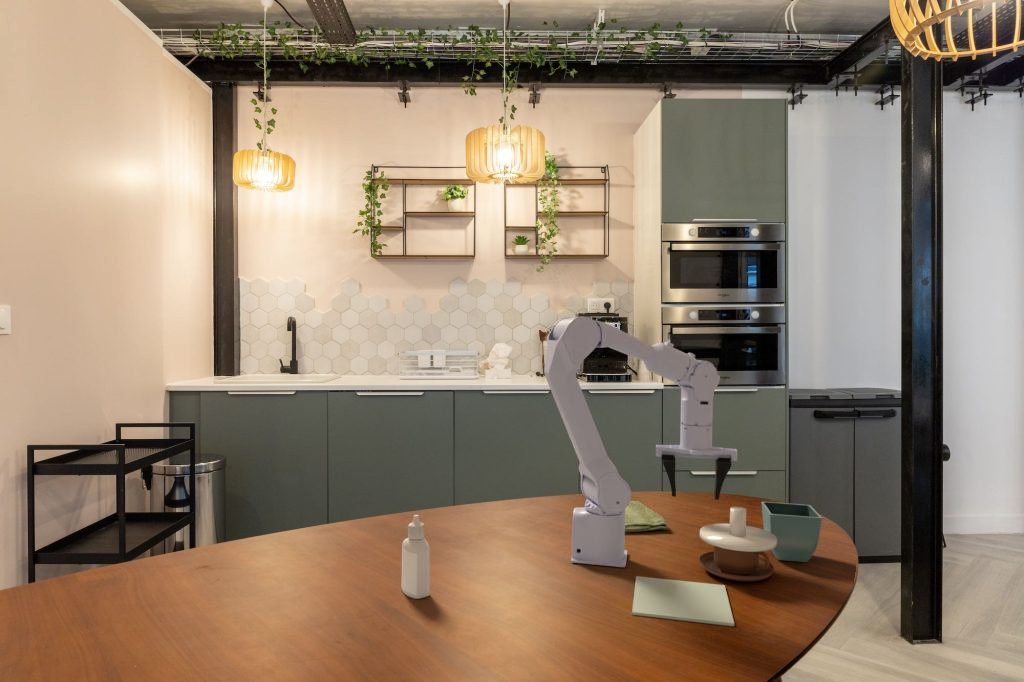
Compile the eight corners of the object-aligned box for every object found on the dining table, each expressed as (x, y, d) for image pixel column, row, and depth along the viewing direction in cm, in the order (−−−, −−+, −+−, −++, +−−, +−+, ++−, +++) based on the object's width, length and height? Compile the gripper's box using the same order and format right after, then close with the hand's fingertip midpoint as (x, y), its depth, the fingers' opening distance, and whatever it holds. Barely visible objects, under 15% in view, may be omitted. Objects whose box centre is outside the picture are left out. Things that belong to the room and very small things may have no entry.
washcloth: (613, 537, 128) (613, 521, 128) (585, 512, 145) (585, 498, 145) (673, 534, 131) (673, 518, 131) (638, 510, 148) (638, 496, 148)
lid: (698, 546, 104) (699, 514, 104) (700, 524, 116) (701, 496, 116) (780, 555, 100) (781, 522, 100) (773, 532, 112) (774, 503, 112)
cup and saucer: (780, 571, 110) (781, 535, 110) (764, 594, 100) (765, 555, 100) (711, 556, 117) (711, 523, 117) (689, 576, 107) (690, 540, 107)
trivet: (632, 614, 91) (632, 611, 91) (636, 578, 105) (636, 576, 105) (734, 626, 88) (734, 623, 88) (724, 587, 102) (724, 585, 102)
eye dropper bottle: (400, 600, 95) (401, 521, 95) (401, 586, 101) (402, 510, 100) (429, 599, 96) (430, 520, 95) (429, 585, 101) (430, 510, 101)
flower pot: (822, 568, 111) (823, 517, 111) (768, 563, 113) (769, 513, 113) (809, 551, 120) (810, 504, 120) (759, 547, 122) (760, 501, 121)
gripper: (656, 425, 116) (654, 499, 116) (739, 429, 112) (738, 505, 113) (656, 420, 123) (655, 490, 123) (735, 423, 119) (734, 495, 120)
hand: (695, 496), depth 118 cm, fingers open, 7 cm apart
